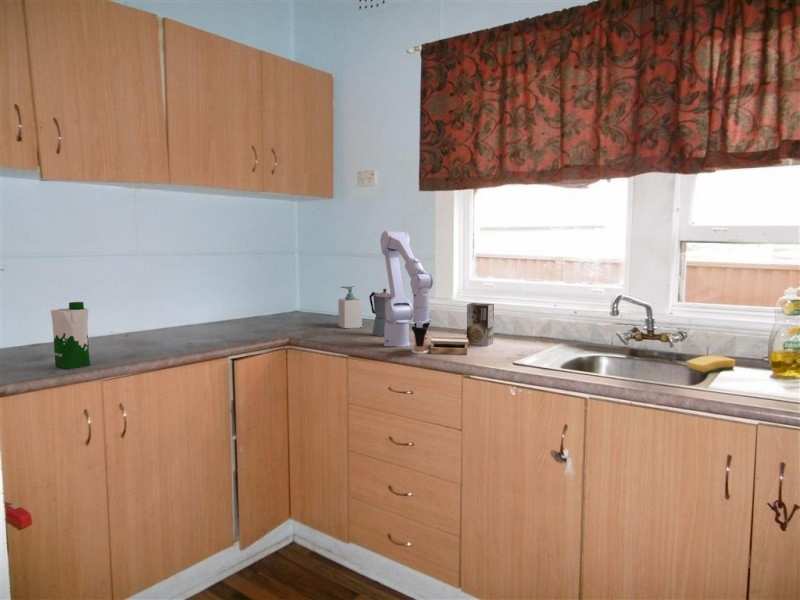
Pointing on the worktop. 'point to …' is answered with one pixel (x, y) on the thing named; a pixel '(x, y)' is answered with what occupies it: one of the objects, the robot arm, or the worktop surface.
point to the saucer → (420, 352)
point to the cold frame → (448, 349)
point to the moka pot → (379, 311)
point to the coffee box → (480, 323)
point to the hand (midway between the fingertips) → (420, 344)
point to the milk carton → (71, 336)
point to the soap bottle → (350, 311)
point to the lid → (449, 340)
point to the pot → (424, 348)
